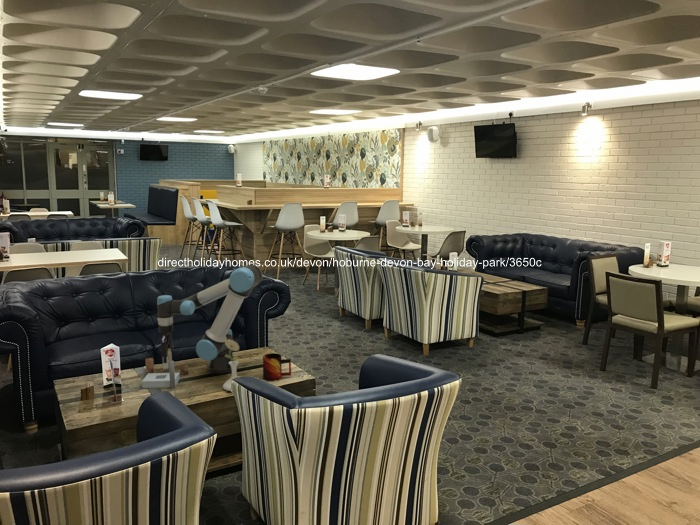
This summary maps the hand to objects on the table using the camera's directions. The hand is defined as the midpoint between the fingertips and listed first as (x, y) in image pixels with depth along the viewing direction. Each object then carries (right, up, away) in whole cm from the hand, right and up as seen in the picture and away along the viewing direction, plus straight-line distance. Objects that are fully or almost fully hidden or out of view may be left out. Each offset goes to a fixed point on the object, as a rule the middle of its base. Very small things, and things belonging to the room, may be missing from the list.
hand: (167, 366), depth 299 cm
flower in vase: (+40, -8, -20) cm, 45 cm away
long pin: (0, -4, +1) cm, 5 cm away
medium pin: (-9, -5, -1) cm, 10 cm away
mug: (+59, -5, -4) cm, 59 cm away
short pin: (+9, -5, 0) cm, 10 cm away
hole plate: (+2, -7, -15) cm, 16 cm away
